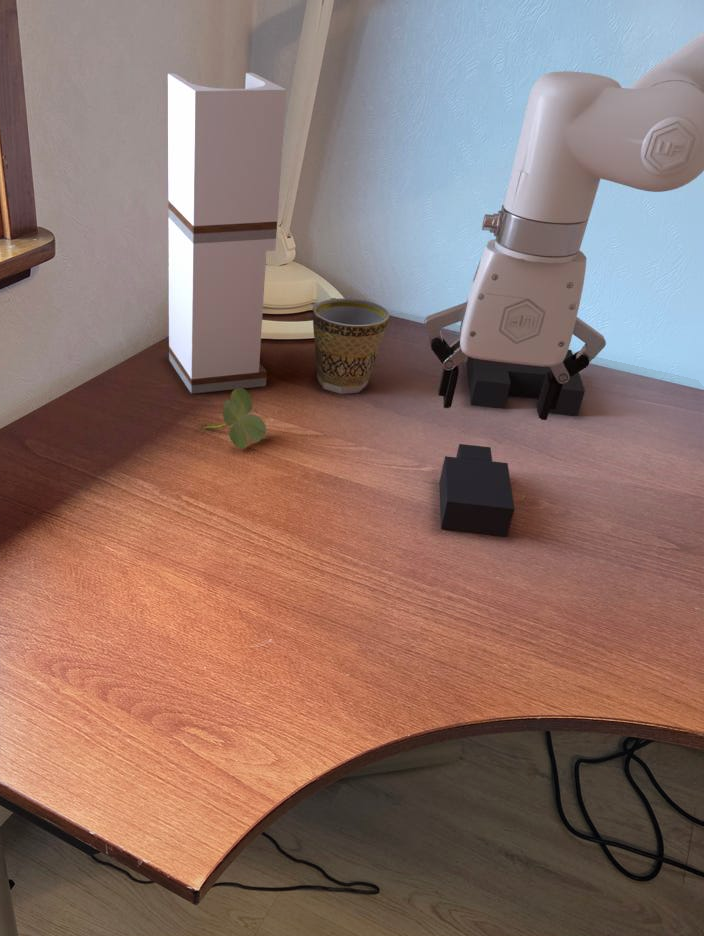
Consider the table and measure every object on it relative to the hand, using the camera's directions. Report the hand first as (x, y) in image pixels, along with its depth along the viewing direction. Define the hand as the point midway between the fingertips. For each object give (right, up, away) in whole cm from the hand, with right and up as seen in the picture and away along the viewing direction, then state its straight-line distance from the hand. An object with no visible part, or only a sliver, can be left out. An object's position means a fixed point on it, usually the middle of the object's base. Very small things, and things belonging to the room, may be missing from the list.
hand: (493, 408), depth 92 cm
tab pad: (0, -8, +9) cm, 12 cm away
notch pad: (+13, +11, +32) cm, 37 cm away
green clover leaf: (-26, +1, +19) cm, 32 cm away
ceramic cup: (-12, +12, +33) cm, 37 cm away
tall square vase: (-29, +13, +33) cm, 46 cm away
